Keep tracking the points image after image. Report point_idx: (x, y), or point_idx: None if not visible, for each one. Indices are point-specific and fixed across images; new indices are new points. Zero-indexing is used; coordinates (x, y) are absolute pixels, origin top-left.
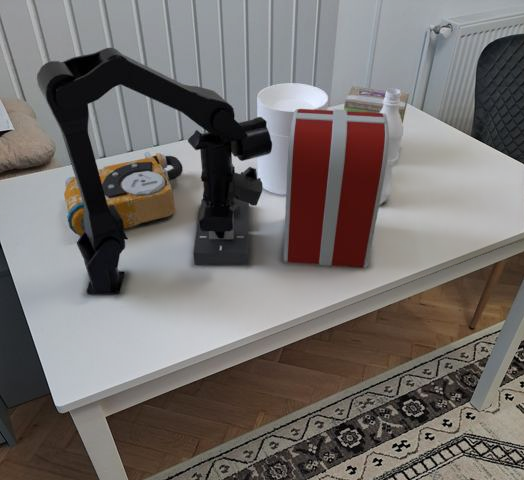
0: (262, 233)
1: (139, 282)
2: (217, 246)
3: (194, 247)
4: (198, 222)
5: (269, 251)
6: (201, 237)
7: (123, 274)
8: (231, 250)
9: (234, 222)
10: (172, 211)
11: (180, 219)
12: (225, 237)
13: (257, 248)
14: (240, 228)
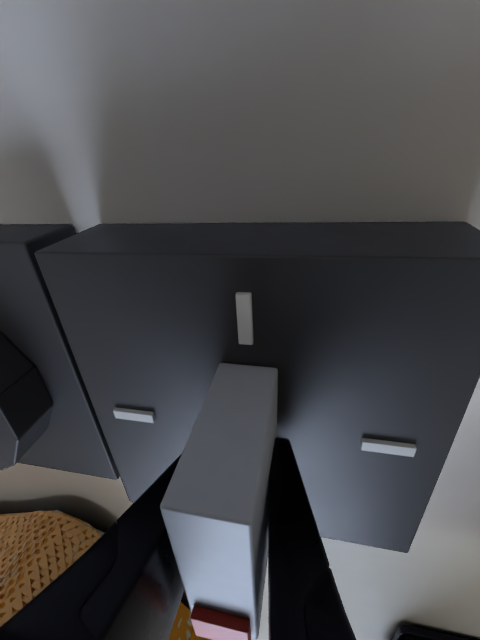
0: (61, 114)
1: (461, 607)
2: (358, 458)
3: (350, 541)
4: (112, 478)
5: (293, 16)
6: None
7: (417, 636)
8: (433, 388)
9: (53, 332)
10: (68, 528)
11: (84, 481)
12: (275, 424)
13: (250, 147)
14: (127, 312)
